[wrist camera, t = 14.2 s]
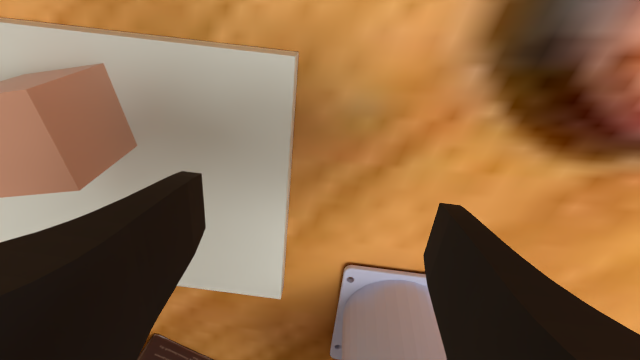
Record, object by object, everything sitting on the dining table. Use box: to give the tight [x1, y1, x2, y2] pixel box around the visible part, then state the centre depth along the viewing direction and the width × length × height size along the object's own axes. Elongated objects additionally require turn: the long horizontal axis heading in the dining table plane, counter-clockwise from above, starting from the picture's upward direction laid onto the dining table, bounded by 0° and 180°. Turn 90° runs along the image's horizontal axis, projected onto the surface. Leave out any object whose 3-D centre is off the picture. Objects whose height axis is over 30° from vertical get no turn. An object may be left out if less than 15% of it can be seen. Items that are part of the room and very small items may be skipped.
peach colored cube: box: [0, 63, 137, 198], centre depth 17 cm, size 4×4×5 cm
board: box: [0, 17, 299, 299], centre depth 20 cm, size 16×22×5 cm
